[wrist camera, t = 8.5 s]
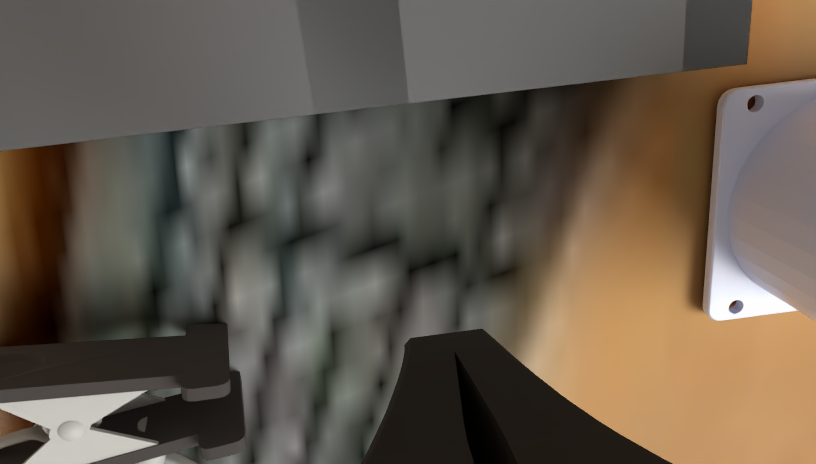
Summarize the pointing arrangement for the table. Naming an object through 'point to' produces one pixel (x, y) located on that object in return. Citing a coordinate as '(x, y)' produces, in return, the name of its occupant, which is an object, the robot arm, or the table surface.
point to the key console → (323, 56)
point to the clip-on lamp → (123, 400)
